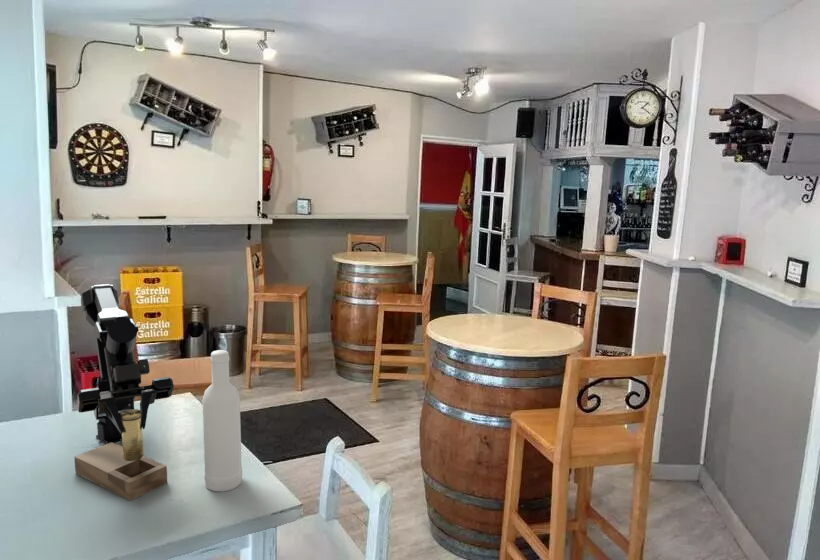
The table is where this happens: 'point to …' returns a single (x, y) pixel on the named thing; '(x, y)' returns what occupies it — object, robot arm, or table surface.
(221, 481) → the bottle
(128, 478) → the jig
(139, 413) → the disc
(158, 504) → the table surface
